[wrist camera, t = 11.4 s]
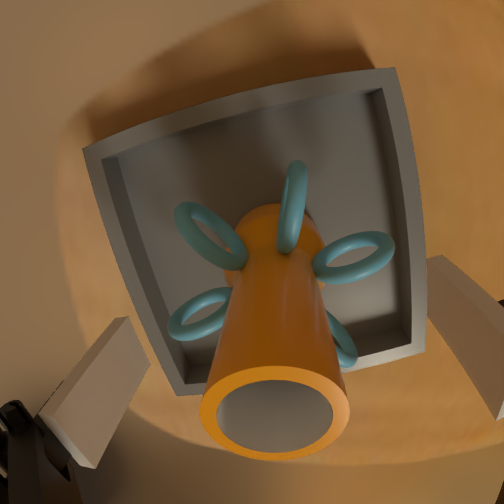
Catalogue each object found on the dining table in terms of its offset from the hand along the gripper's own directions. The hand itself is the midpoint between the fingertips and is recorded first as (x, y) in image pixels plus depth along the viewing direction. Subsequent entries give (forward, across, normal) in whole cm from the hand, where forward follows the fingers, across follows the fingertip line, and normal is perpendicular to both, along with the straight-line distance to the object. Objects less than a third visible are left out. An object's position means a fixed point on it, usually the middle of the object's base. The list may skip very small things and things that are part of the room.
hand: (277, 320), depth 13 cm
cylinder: (+10, 0, 0) cm, 10 cm away
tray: (+10, 0, 0) cm, 10 cm away
